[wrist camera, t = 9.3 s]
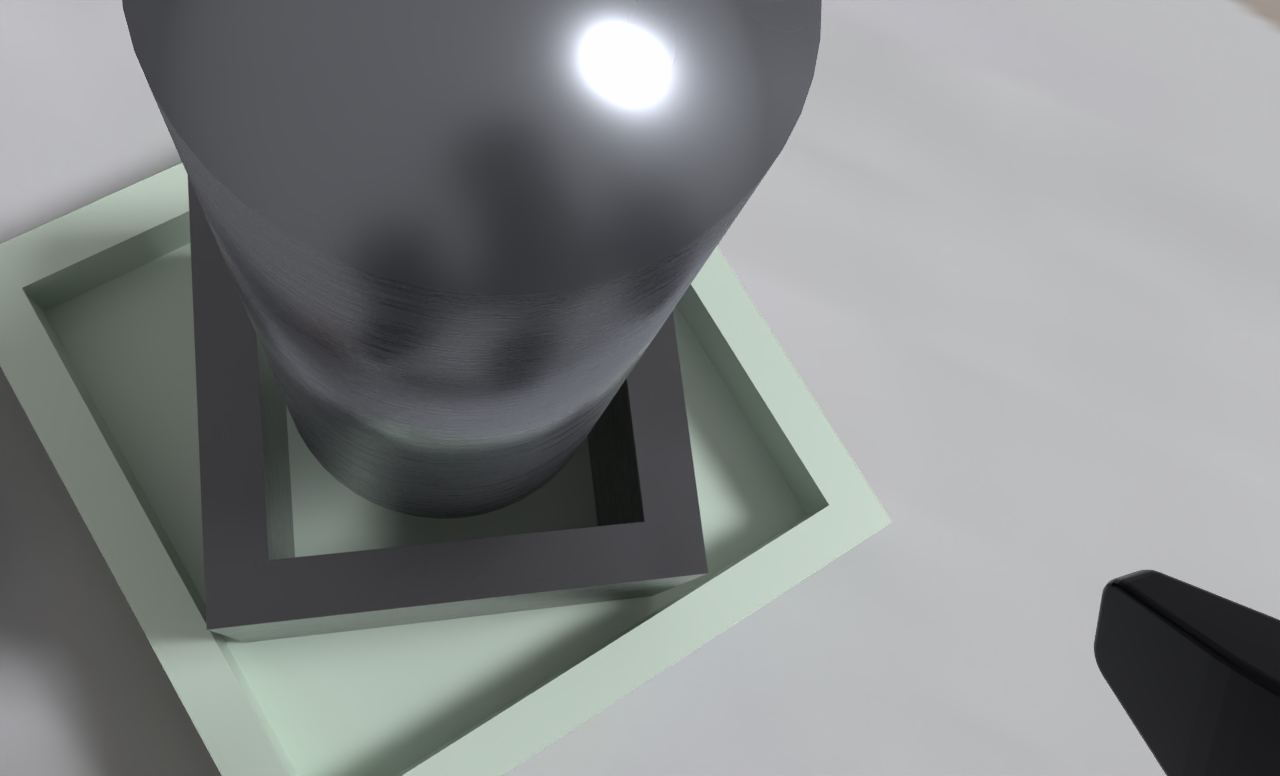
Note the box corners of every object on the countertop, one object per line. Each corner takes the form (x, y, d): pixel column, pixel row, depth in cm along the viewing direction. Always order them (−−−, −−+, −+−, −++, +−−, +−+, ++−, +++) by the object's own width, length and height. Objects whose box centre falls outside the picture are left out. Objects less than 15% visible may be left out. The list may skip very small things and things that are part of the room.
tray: (855, 535, 22) (892, 522, 20) (305, 891, 19) (295, 909, 17) (547, 45, 23) (558, -6, 22) (-14, 303, 20) (-53, 267, 18)
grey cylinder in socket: (652, 596, 20) (1065, 427, 8) (247, 642, 19) (-92, 535, 6) (607, 231, 22) (887, -429, 9) (228, 250, 21) (-79, -496, 8)
